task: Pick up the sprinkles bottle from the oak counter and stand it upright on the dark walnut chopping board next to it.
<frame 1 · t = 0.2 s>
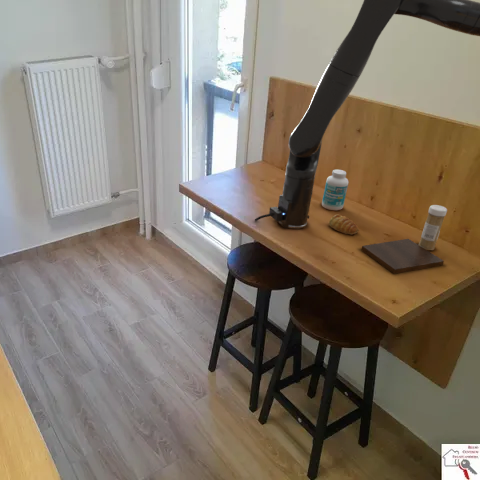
pill bottle: (332, 207, 171), on the counter
walnut board: (400, 257, 139), on the counter
sprinkles bottle: (425, 247, 145), on the counter
pastry: (342, 229, 156), on the counter
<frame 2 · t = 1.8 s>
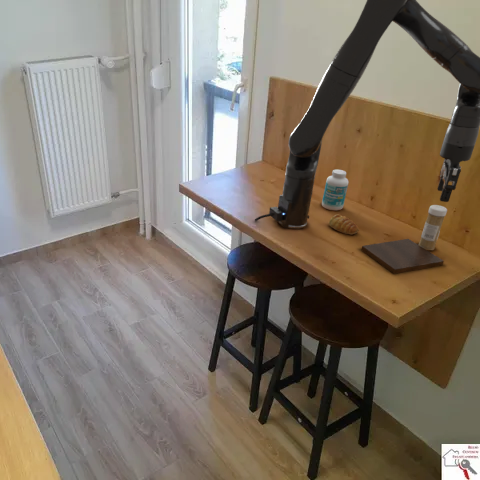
hand: (442, 195, 137), 17 cm above the counter, tool pointing down, fingers open, 8 cm apart
nothing on the counter moved.
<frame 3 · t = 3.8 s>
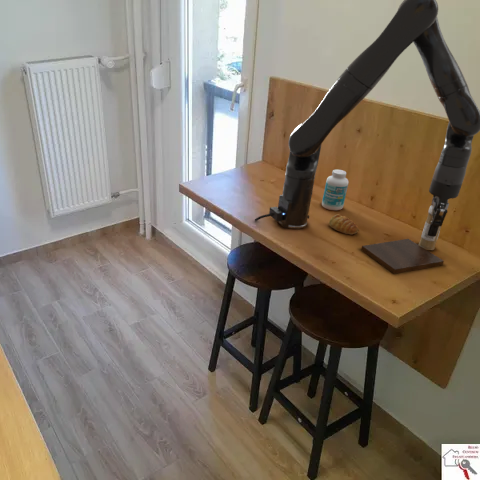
hand: (430, 232, 142), 5 cm above the counter, tool pointing down, fingers closed on sprinkles bottle, 4 cm apart
sprinkles bottle: (425, 247, 145), on the counter, touching gripper
everything else where it was.
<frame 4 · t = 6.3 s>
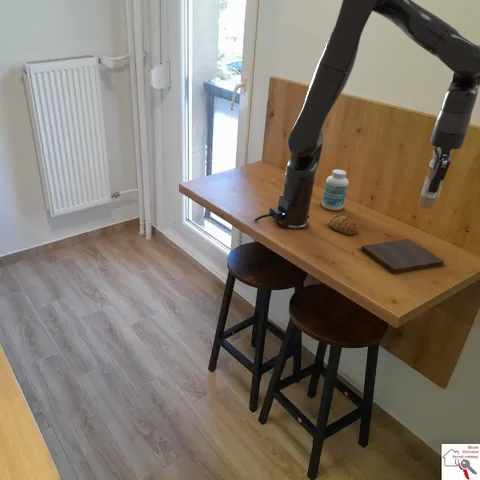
hand: (431, 188, 131), 21 cm above the counter, tool pointing down, fingers closed on sprinkles bottle, 4 cm apart
sprinkles bottle: (425, 206, 134), point 15 cm above the counter, touching gripper
everything else where it was.
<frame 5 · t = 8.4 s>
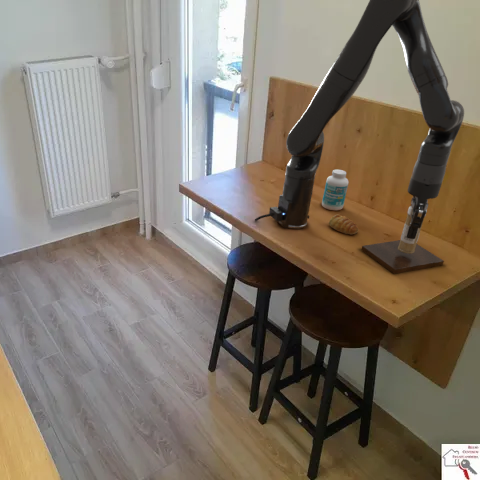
hand: (410, 234, 135), 8 cm above the counter, tool pointing down, fingers closed on sprinkles bottle, 4 cm apart
sprinkles bottle: (405, 251, 137), point 3 cm above the counter, touching gripper
everything else where it was.
when the fingers open (7 cm above the counter, at t = 9.3 s): sprinkles bottle stays where it is, resting on walnut board.
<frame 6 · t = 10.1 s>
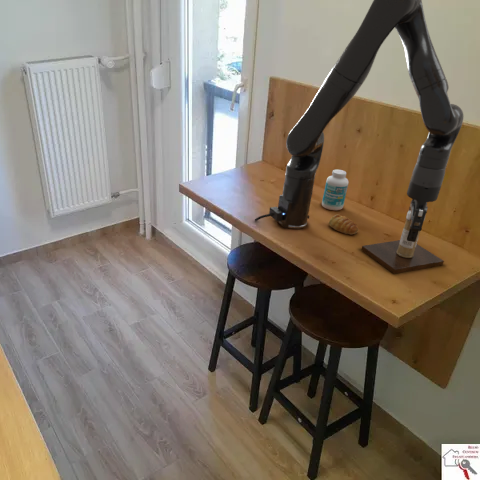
hand: (410, 234, 135), 8 cm above the counter, tool pointing down, fingers open, 8 cm apart
sprinkles bottle: (404, 255, 138), point 1 cm above the counter, touching walnut board
everything else where it was.
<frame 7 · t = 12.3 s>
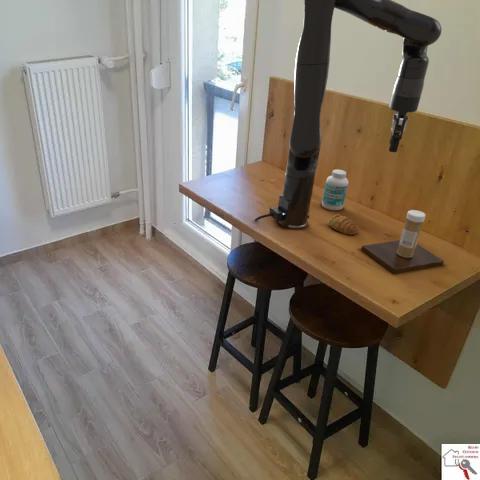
hand: (392, 147, 144), 27 cm above the counter, tool pointing down, fingers open, 8 cm apart
nothing on the counter moved.
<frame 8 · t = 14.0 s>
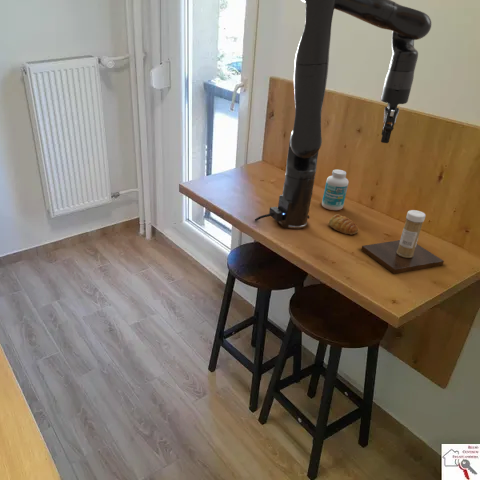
hand: (384, 139, 149), 28 cm above the counter, tool pointing down, fingers open, 8 cm apart
nothing on the counter moved.
at the end: sprinkles bottle inside the target area on the walnut board (1.0 cm from its centre), point 1.3 cm above the walnut board's base; sprinkles bottle tilted 0°; the gripper is holding nothing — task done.
